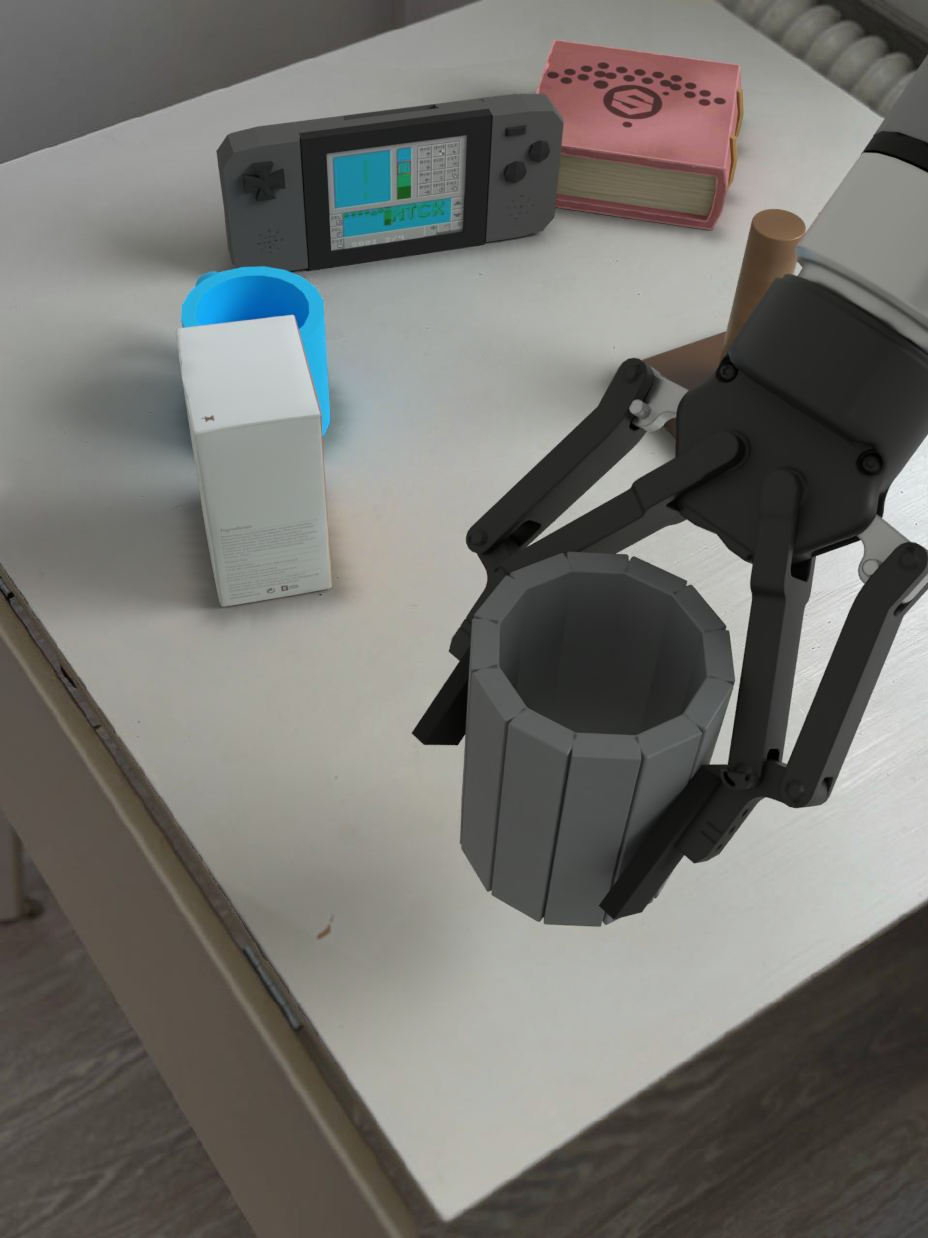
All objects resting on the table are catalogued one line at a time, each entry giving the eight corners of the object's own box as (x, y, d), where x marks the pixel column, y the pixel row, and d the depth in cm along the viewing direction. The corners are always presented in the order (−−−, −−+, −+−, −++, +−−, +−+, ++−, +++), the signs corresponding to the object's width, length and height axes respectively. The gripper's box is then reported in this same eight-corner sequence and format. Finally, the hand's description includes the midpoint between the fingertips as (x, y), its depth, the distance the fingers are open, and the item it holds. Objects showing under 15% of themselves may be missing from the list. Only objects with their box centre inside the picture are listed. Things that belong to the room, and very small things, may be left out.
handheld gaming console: (236, 285, 92) (220, 153, 84) (229, 261, 94) (213, 129, 86) (555, 236, 97) (568, 107, 89) (543, 214, 98) (555, 85, 90)
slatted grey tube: (723, 868, 56) (786, 695, 47) (530, 964, 53) (556, 799, 44) (604, 706, 61) (640, 521, 52) (422, 785, 58) (425, 604, 49)
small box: (334, 591, 75) (323, 415, 65) (219, 610, 74) (190, 433, 64) (309, 488, 80) (295, 310, 70) (201, 505, 79) (171, 326, 69)
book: (724, 231, 98) (737, 170, 94) (516, 201, 99) (520, 139, 95) (739, 126, 107) (751, 66, 103) (547, 99, 108) (553, 39, 104)
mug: (354, 433, 83) (350, 326, 77) (234, 481, 80) (219, 374, 74) (265, 324, 89) (254, 217, 83) (150, 365, 86) (130, 258, 80)
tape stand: (845, 431, 85) (907, 249, 74) (713, 481, 82) (759, 299, 71) (751, 338, 90) (796, 156, 80) (624, 382, 87) (654, 198, 77)
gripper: (1168, 510, 46) (777, 1006, 51) (674, 218, 56) (387, 658, 61) (1157, 469, 39) (710, 1043, 44) (600, 147, 49) (286, 646, 54)
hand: (523, 820), depth 53 cm, fingers closed on slatted grey tube, 9 cm apart
